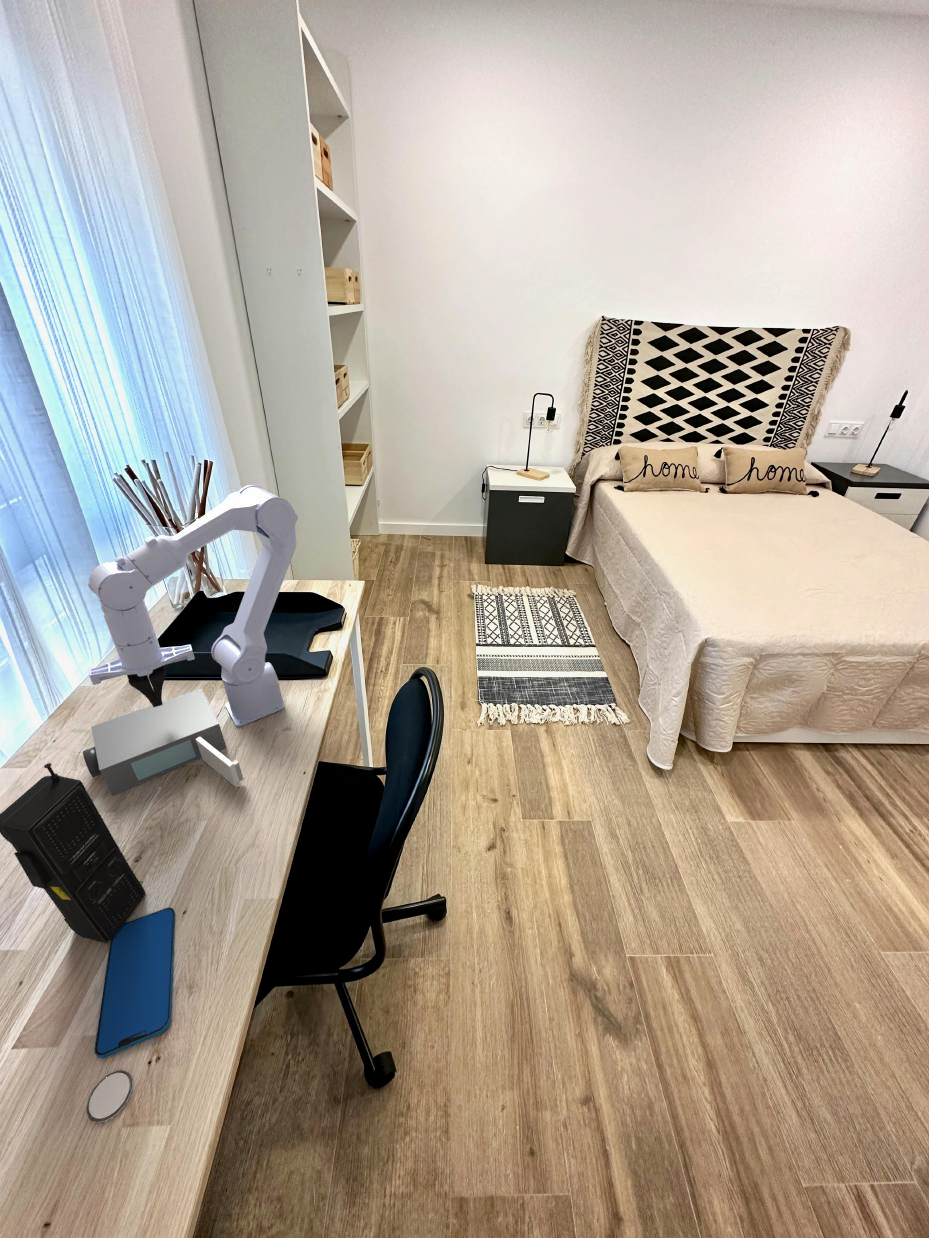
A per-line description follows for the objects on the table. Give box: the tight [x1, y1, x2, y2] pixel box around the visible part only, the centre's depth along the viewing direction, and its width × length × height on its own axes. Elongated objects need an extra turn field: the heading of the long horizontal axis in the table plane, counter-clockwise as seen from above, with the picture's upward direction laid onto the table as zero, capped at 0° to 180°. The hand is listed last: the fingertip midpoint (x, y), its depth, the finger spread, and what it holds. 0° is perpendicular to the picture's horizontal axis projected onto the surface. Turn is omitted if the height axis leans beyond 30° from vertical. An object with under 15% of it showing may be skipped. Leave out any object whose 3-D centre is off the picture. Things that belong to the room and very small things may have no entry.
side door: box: [196, 737, 244, 788], centre depth 87 cm, size 10×2×5 cm, turn 54°
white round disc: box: [85, 1069, 134, 1124], centre depth 52 cm, size 4×4×1 cm
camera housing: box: [82, 687, 227, 796], centre depth 90 cm, size 20×12×6 cm, turn 127°
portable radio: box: [0, 762, 147, 944], centre depth 61 cm, size 8×6×25 cm
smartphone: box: [93, 907, 176, 1060], centre depth 61 cm, size 7×1×15 cm
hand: (157, 702), depth 87 cm, fingers closed
